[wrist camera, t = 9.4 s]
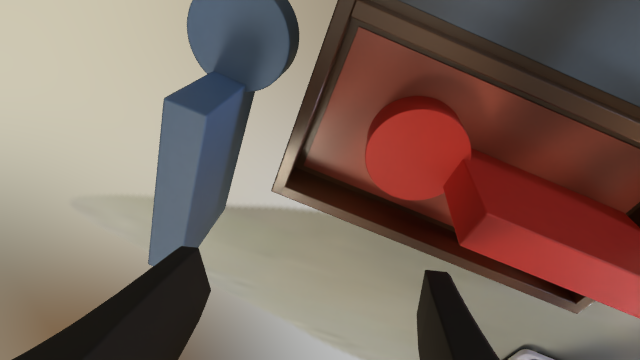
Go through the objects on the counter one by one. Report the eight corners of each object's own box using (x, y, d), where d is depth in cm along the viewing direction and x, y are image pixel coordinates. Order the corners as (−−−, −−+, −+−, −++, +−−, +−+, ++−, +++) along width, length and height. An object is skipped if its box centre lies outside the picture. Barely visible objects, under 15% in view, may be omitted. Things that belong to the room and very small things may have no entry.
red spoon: (650, 190, 15) (773, 288, 10) (577, 253, 17) (648, 355, 13) (392, 79, 14) (396, 129, 10) (352, 160, 17) (339, 232, 12)
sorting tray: (997, -90, 10) (1167, -108, 8) (556, 278, 19) (577, 314, 17) (471, -357, 9) (499, -463, 7) (283, 167, 18) (271, 191, 16)
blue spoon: (245, 217, 21) (205, 286, 16) (180, 191, 21) (119, 254, 16) (313, 1, 14) (276, 12, 9) (215, -42, 14) (126, -52, 9)
